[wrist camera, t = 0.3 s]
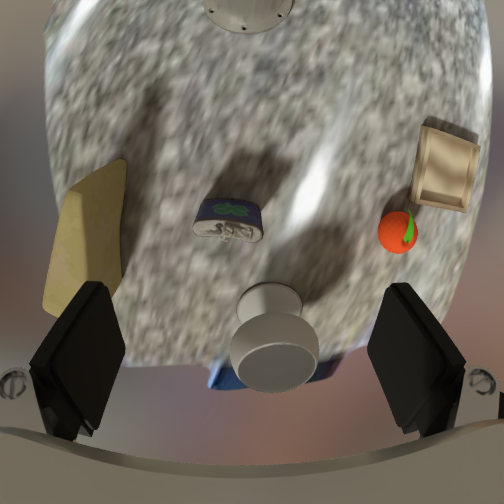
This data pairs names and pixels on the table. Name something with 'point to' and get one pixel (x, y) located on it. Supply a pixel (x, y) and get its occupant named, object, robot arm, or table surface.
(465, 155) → the tray
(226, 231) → the flask
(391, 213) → the clementine
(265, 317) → the chalice
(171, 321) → the table surface
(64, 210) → the cheese
